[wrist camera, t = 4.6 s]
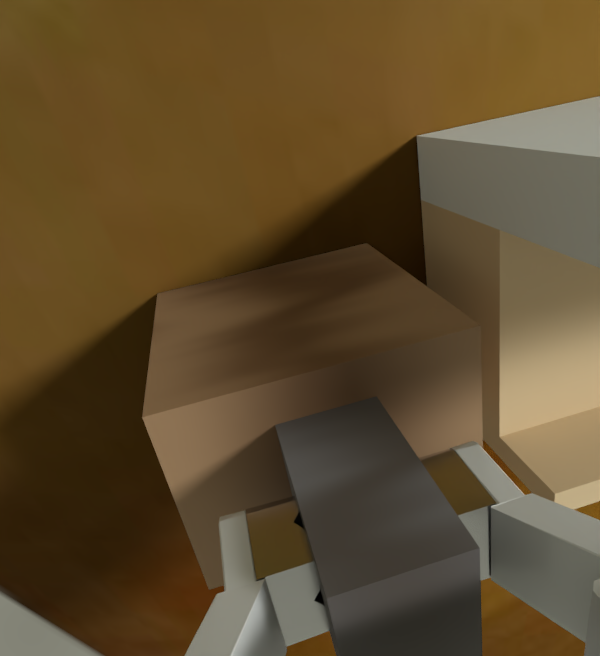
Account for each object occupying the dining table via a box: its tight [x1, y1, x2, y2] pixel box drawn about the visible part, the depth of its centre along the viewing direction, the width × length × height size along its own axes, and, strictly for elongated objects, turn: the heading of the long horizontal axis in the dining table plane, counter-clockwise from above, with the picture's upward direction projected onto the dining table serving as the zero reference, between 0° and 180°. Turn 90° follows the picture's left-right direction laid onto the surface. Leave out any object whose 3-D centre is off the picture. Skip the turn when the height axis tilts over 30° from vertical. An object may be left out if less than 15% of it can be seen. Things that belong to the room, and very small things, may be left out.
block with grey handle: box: [142, 243, 483, 656], centre depth 12 cm, size 7×5×11 cm
